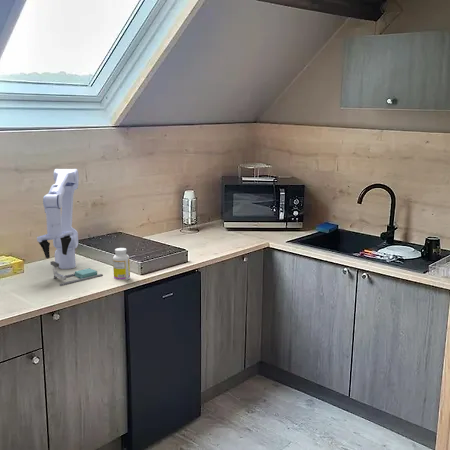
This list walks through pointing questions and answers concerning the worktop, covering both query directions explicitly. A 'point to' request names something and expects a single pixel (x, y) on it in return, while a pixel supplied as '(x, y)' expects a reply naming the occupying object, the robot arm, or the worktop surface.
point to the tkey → (56, 271)
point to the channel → (79, 279)
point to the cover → (85, 273)
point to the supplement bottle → (121, 264)
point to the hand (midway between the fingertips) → (56, 256)
